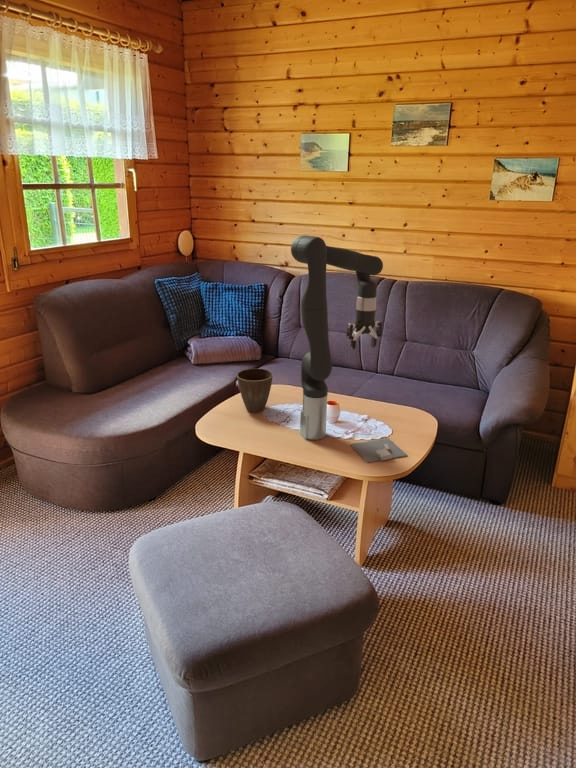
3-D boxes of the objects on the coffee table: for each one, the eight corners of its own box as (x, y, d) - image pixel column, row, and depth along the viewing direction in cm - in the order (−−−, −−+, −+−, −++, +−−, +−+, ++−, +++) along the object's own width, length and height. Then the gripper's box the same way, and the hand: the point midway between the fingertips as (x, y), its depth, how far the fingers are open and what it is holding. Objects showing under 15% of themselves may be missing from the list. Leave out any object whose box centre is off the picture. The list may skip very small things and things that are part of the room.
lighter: (382, 456, 195) (370, 446, 202) (381, 460, 196) (369, 450, 203) (399, 452, 198) (386, 443, 205) (398, 456, 199) (386, 447, 205)
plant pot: (252, 419, 227) (252, 383, 221) (230, 408, 237) (229, 373, 231) (279, 410, 236) (280, 375, 230) (257, 399, 246) (257, 365, 241)
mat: (367, 462, 195) (367, 461, 195) (350, 445, 207) (350, 443, 207) (407, 456, 200) (407, 455, 200) (388, 439, 212) (388, 438, 212)
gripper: (377, 304, 220) (374, 343, 226) (345, 306, 215) (342, 346, 221) (387, 309, 213) (383, 349, 219) (353, 311, 209) (351, 352, 215)
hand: (363, 348), depth 220 cm, fingers open, 8 cm apart
